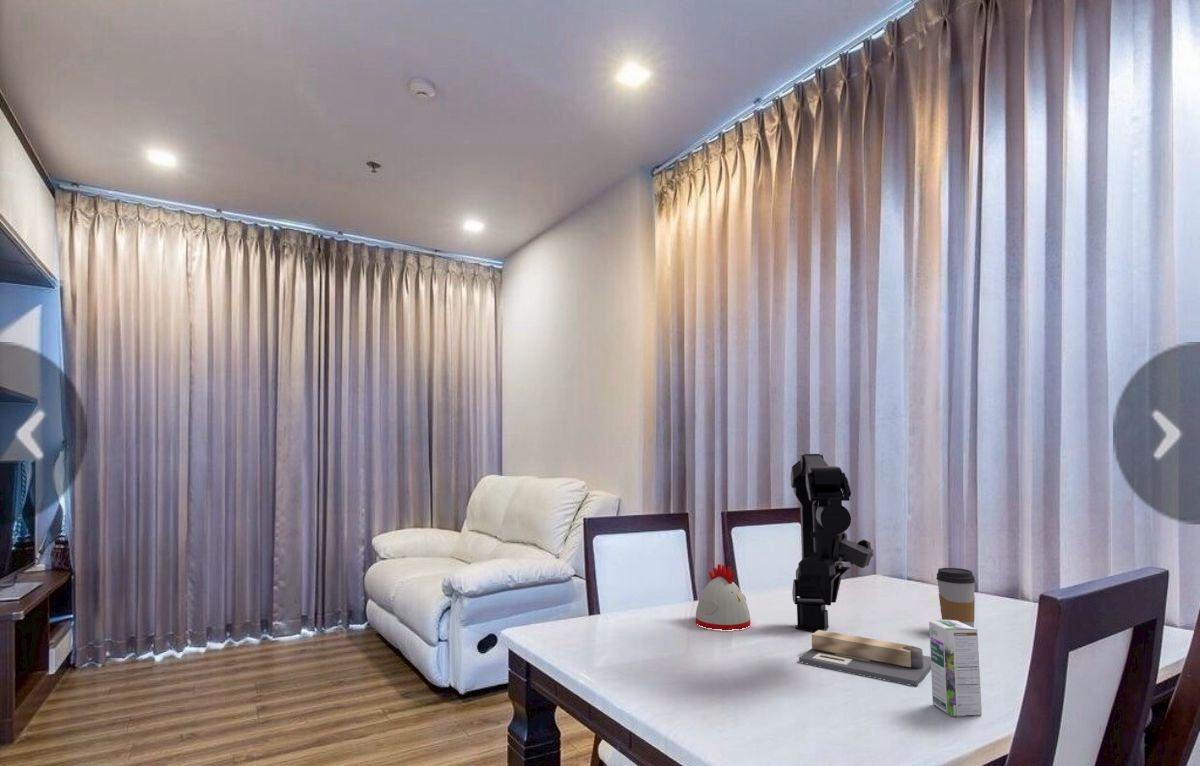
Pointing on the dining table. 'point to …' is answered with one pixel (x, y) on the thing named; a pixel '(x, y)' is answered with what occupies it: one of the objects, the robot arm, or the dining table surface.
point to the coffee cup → (956, 595)
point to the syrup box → (955, 667)
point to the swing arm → (868, 648)
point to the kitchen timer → (722, 603)
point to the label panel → (868, 666)
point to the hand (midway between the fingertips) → (830, 603)
